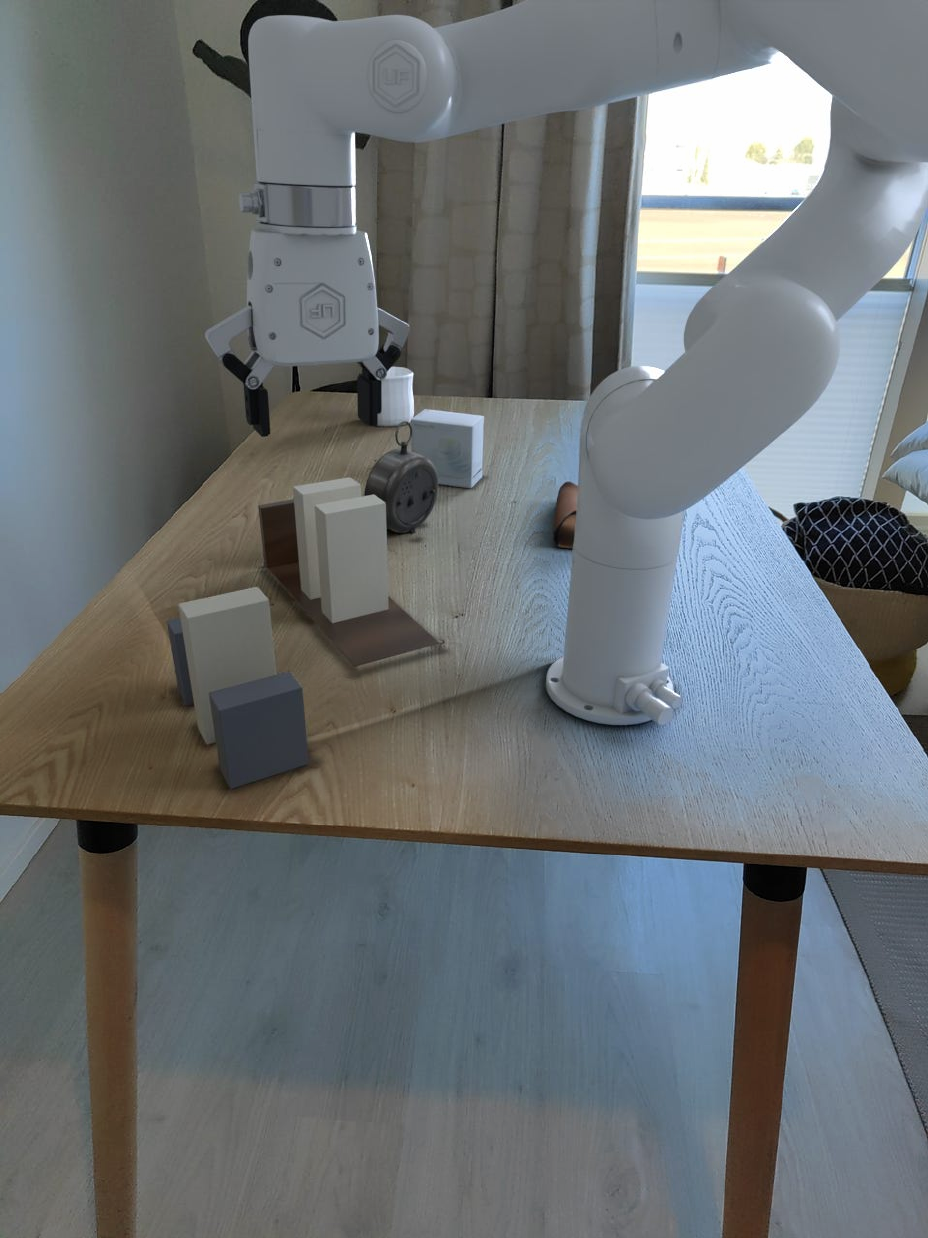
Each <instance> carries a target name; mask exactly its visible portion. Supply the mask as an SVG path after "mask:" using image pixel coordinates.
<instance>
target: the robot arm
mask: <svg viewBox="0 0 928 1238" xmlns="http://www.w3.org/2000/svg"><path fill="white" fill-rule="evenodd" d="M247 44H248V47H247V49H248V50H247V51H248V66H249V84H250V99H251V115H252V130H253V131H252V132H253V145H254V158H255V160H254V161H255V174H256V182H255V183H254V185H253V189H252V190H249V191H248V192H239V193H238V207H239V210H240V212H241V213H250V215H254V217H256V221H258V222H259V227H253V228H251V230H250V231H251V232H250V238H249V246H248V258H247V275H246V277H247V278H246V305H245V306H244V307H242V308H241V309H240V310H238V311H236V312H234V313H233V314H231V315H229V316H228V317H226V318H225V319H223V320H221V321H219V322H218V323H216V324H215V325H213V326H212V327H211V326H210V328H208V329H207V330H206V331H205V332H204V337H205V340H206V341H207V343H208V345H209V346H210V348H211V350H212V351H213V353H214V354H215V355H216V357H217V359H218V360H219V363H220V364H221V365H222V367H224V368H225V369H227V370H228V372H230V373H231V374H232V375H233V376H234V377H236V378H237V379H238V380H239V381H240V382H241V383H242V384H243V396H244V409H245V419H246V422H247V424H248V425H249V426H252V428H253V430H254V431H255V432H256V433H257V434H258V435H259V436H260V437H262V438H264V437H269V435H271V421H270V419H271V418H270V405H269V391H268V389H267V388H266V387H264V382H265V379H266V378H267V376H268V375H269V374H270V373H271V371H272V370H273V368H274V367H276V366H277V367H304V366H320V365H321V366H322V365H339V364H352V363H356V364H358V367H360V368H361V373H358V375H357V377H356V391H357V392H356V393H357V395H356V396H357V418H358V420H360V421H362V422H363V423H365V424H366V425H367V426H369V427H378V426H377V424H378V414H380V413H381V410H382V380H384V379H385V378H386V376H387V371H388V370H389V369H390V368H391V367H394V365H395V364H396V363H397V361H398V360H399V359H400V357H401V354H402V353H401V352H402V349H403V348H404V346H405V345H406V342H407V340H408V338H409V335H410V333H411V326H410V324H409V323H407V322H405V321H403V320H401V319H399V318H397V317H396V316H394V315H393V314H391V313H388V312H386V311H385V310H383V309H382V308H379V307H378V299H377V290H376V289H377V288H376V280H375V272H374V271H375V270H374V265H373V258H372V257H373V256H372V251H371V247H370V242H369V241H370V240H369V238H368V232H366V231H363V230H357V186H356V185H357V184H356V133H357V134H358V133H359V134H364V135H370V136H374V137H378V138H381V139H387V140H391V141H396V142H402V143H415V144H416V143H417V144H419V143H428V142H432V141H436V140H440V139H444V138H449V137H453V136H456V135H457V136H458V135H462V134H465V133H469V132H475V131H478V130H482V129H487V128H491V127H495V126H500V125H505V124H508V123H511V122H516V121H520V120H521V121H522V120H524V119H529V118H532V117H537V116H541V115H547V114H553V113H560V112H573V111H574V112H575V111H583V110H588V109H592V108H596V107H600V106H604V105H608V104H612V103H618V102H621V101H626V100H629V99H633V98H638V97H643V96H647V95H650V94H654V93H658V92H663V91H667V90H671V89H676V88H679V87H683V86H688V85H693V84H696V83H700V82H705V81H709V80H710V81H711V80H715V79H719V78H724V77H728V76H732V75H736V74H737V75H738V74H740V73H745V72H749V71H754V70H758V69H762V68H765V67H771V66H774V65H777V64H780V63H784V62H786V61H790V62H792V63H793V65H795V66H796V67H797V68H798V69H800V71H802V72H803V73H804V74H805V75H806V76H807V77H809V78H810V80H812V81H813V82H815V83H816V84H817V85H818V86H820V87H821V88H822V89H823V90H824V91H826V93H828V94H829V95H830V100H829V109H828V110H829V111H828V112H829V113H828V118H829V119H828V122H829V123H828V124H829V143H828V150H827V155H826V160H825V163H824V166H823V168H822V171H821V173H820V176H819V178H818V180H817V181H816V183H815V185H814V186H813V187H812V189H811V191H810V192H809V193H808V194H807V195H806V197H805V198H804V199H803V200H802V201H801V202H800V204H799V205H797V207H796V208H794V210H793V211H792V212H790V214H789V215H788V216H787V217H786V218H785V219H784V220H783V222H781V224H780V225H778V227H776V228H775V229H774V231H772V232H771V233H770V234H769V235H768V236H767V237H766V238H765V239H764V240H763V241H761V243H759V244H758V245H757V246H756V247H755V249H753V250H752V251H751V252H750V253H749V254H748V255H747V256H746V257H745V258H744V259H743V260H741V261H740V263H738V264H737V265H736V266H735V267H734V268H733V269H731V270H730V271H729V272H728V273H727V274H726V275H724V277H722V278H721V279H720V280H719V281H718V282H717V283H715V284H714V285H712V287H711V288H710V289H708V290H707V291H706V292H705V294H703V296H702V297H700V299H699V300H698V301H697V302H696V303H695V305H694V307H693V308H692V310H691V311H690V313H689V314H688V317H687V319H686V323H685V326H684V329H683V330H684V332H683V348H684V353H682V355H680V356H679V357H678V358H677V359H676V360H675V361H674V362H673V363H672V364H671V365H670V366H668V367H667V368H666V370H662V369H660V368H657V367H652V366H648V365H633V366H627V367H625V368H621V369H619V370H617V371H614V372H613V373H611V374H609V375H608V376H606V378H604V379H602V381H600V383H599V384H598V385H597V386H596V387H595V388H594V390H593V391H592V393H591V394H590V396H589V398H588V399H587V401H586V404H585V407H584V409H583V413H582V417H581V422H580V431H579V447H578V449H579V450H578V451H579V452H578V479H577V486H578V496H577V511H576V522H575V535H574V543H573V549H572V553H571V554H572V555H571V566H570V577H569V578H570V579H569V590H568V601H567V602H568V603H567V611H566V626H565V635H564V636H565V637H564V647H563V656H562V657H560V658H558V659H556V660H555V661H554V662H553V663H552V664H551V665H550V666H549V668H548V669H547V672H546V676H545V677H546V678H545V688H546V692H547V694H548V696H549V698H550V700H552V702H554V703H555V705H556V706H558V707H559V708H560V709H561V710H563V711H565V712H566V713H568V714H570V715H572V716H574V717H576V718H579V719H582V720H584V721H588V722H591V723H596V724H599V725H600V724H601V725H608V726H631V725H639V724H643V723H648V722H649V721H650V722H651V721H653V722H654V723H655V724H657V725H658V726H660V727H664V726H666V725H668V724H669V723H670V722H671V721H672V720H673V716H674V713H675V712H674V710H677V709H679V708H680V707H681V706H682V704H683V702H684V698H683V697H682V696H681V695H680V694H678V693H677V692H675V688H674V682H673V681H672V678H671V677H670V676H669V671H670V667H669V666H668V665H666V664H664V663H663V656H664V648H665V642H666V637H667V636H666V635H667V630H668V622H669V615H670V609H671V603H672V598H673V597H672V596H673V590H674V582H675V576H676V570H677V563H678V557H679V554H680V547H681V540H682V533H683V526H684V525H683V524H684V517H685V516H684V515H685V511H686V510H688V509H690V508H691V507H693V506H695V505H696V504H698V503H699V502H701V501H702V500H703V499H705V498H706V497H707V496H709V495H711V493H713V492H714V491H715V490H717V488H719V487H720V486H721V485H723V484H724V483H725V482H726V481H727V480H729V479H730V478H731V477H732V476H734V475H735V474H736V473H737V472H739V470H740V469H742V468H743V467H744V466H746V465H747V464H748V463H750V462H751V461H752V460H753V459H754V458H755V457H756V456H757V455H759V454H760V453H761V452H762V451H764V450H765V449H766V448H767V447H768V446H770V445H771V444H772V443H773V442H774V441H775V440H777V439H778V438H779V437H780V436H782V434H784V433H785V432H787V431H788V430H789V429H790V428H791V427H792V426H793V425H794V424H795V423H797V422H798V421H799V420H800V419H801V418H802V417H803V416H805V414H806V413H808V412H809V410H810V409H811V408H813V406H814V405H815V404H816V402H817V401H818V400H819V399H820V397H821V396H822V395H823V393H824V392H825V390H826V389H827V387H828V385H829V384H830V382H831V380H832V378H833V376H834V374H835V372H836V369H837V365H838V363H839V358H840V351H841V336H840V330H839V329H840V328H839V325H838V321H839V320H840V319H841V318H842V317H843V316H845V314H847V313H848V312H849V311H850V310H851V309H852V308H853V307H854V306H855V305H856V304H858V302H859V301H860V300H861V299H862V298H863V297H864V296H866V294H867V293H868V292H870V290H871V289H873V288H874V287H875V286H876V285H877V284H878V283H880V281H881V280H882V279H883V278H884V277H885V276H886V275H887V274H888V273H889V272H890V271H891V270H892V269H893V268H894V267H895V266H896V264H897V263H898V262H899V261H900V259H901V258H902V257H903V256H904V254H905V253H906V252H907V250H908V249H909V248H910V246H911V245H912V242H913V241H914V239H915V237H916V236H917V233H918V231H919V230H920V228H921V225H922V223H923V220H924V218H925V215H926V212H927V209H928V0H523V1H521V2H519V3H516V4H513V5H511V6H508V7H505V8H503V9H500V10H497V11H494V12H490V13H487V14H484V15H482V16H476V17H473V18H470V19H466V20H462V21H458V22H453V23H450V24H446V25H441V26H436V27H433V26H431V25H430V24H429V23H427V22H425V21H424V20H423V19H420V18H417V17H414V16H411V15H404V14H387V15H379V16H371V17H365V18H355V19H347V20H334V21H333V20H330V19H325V18H321V17H313V16H307V15H306V16H305V15H291V14H288V15H287V14H283V15H282V14H280V15H279V14H278V15H268V16H264V17H261V18H259V19H257V20H256V21H255V22H254V23H253V24H252V26H251V28H250V30H249V33H248V40H247ZM379 326H380V327H381V328H383V329H384V330H386V331H387V337H386V341H385V343H383V344H382V345H381V347H380V348H379V345H380V344H379V343H380V342H379V341H380V330H379V329H380V328H379ZM245 331H247V338H248V345H249V347H250V349H251V353H250V354H248V357H247V358H246V359H245V361H244V362H242V361H241V360H240V359H239V358H238V357H237V356H236V354H235V352H234V351H233V349H232V347H231V345H230V344H231V340H232V339H234V338H235V337H237V336H239V335H241V334H242V333H243V332H245Z"/></svg>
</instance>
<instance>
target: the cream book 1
mask: <svg viewBox="0 0 928 1238" xmlns="http://www.w3.org/2000/svg"><path fill="white" fill-rule="evenodd" d="M177 604H178V606H177V607H178V611H179V618H181V625H182V631H183V637H184V644H185V650H186V656H187V662H188V669H189V675H190V681H191V688H192V694H193V700H194V705H193V707H194V712H195V719H196V724H197V729H198V731H199V733H200V734H201V737H202V738H203V740H204V743H205V744H206V745H207V746H208V745H212V744H216V739H215V733H214V726H213V719H212V712H211V706H210V699H209V692H213V691H217V690H220V689H224V688H228V687H232V686H235V685H239V684H243V683H246V682H250V681H254V680H258V679H261V678H265V677H269V676H273V675H276V674H277V669H276V667H277V666H276V659H275V649H274V637H273V629H272V627H273V626H272V619H271V607H270V600H269V598H268V597H267V596H266V595H265V594H264V592H263V591H262V590H261V588H259V586H254V587H249V588H244V589H240V590H235V591H231V592H226V593H220V594H217V595H213V596H208V597H204V598H199V599H194V600H189V601H185V602H180V603H177Z"/></svg>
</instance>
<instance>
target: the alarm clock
mask: <svg viewBox="0 0 928 1238" xmlns="http://www.w3.org/2000/svg"><path fill="white" fill-rule="evenodd" d="M404 423H406V424H404ZM402 424H404V425H407V426H408V427H409V437H408V439H407V441H405V440H404V441H403V440H402V441H401V442H400V441H399V439H398V433H399V430H400V428H401V426H403V425H402ZM394 435H395V436H394V437H395V442H396V444H397V445H398V446H400V448H394V449H391V450H389V451H387V452H386V453H384V454H383V455H381V457H380V458H379V459H378V460H377V461H376V462H375V463H374V464H373V466H372V468H371V470H370V472H369V474H368V476H367V479H366V483H365V486H364V495H363V496H368V495H375V496H377V497H378V498H380V499H381V500H382V501H384V502H385V503H386V530H390V531H393V532H395V533H399V534H404V533H409V532H411V535H414V534H416V532H417V531H416V529H418V528H419V527H420V526H421V525H422V524H423V523H424V522H425V521H426V520H427V519H428V517H429V516H430V514H431V512H432V511H433V509H434V506H435V504H436V501H437V497H438V492H439V484H438V476H437V472H436V469H435V467H434V465H433V464H432V462H431V461H430V460H429V459H427V458H426V457H424V456H422V455H419V454H416V453H413V452H412V451H411V450H408V446H409V443H410V441H411V437H412V426H411V422H410V423H409V422H408V421H402V422H401V423H400V424H399V425H398V426H396V429H395V434H394Z"/></svg>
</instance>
